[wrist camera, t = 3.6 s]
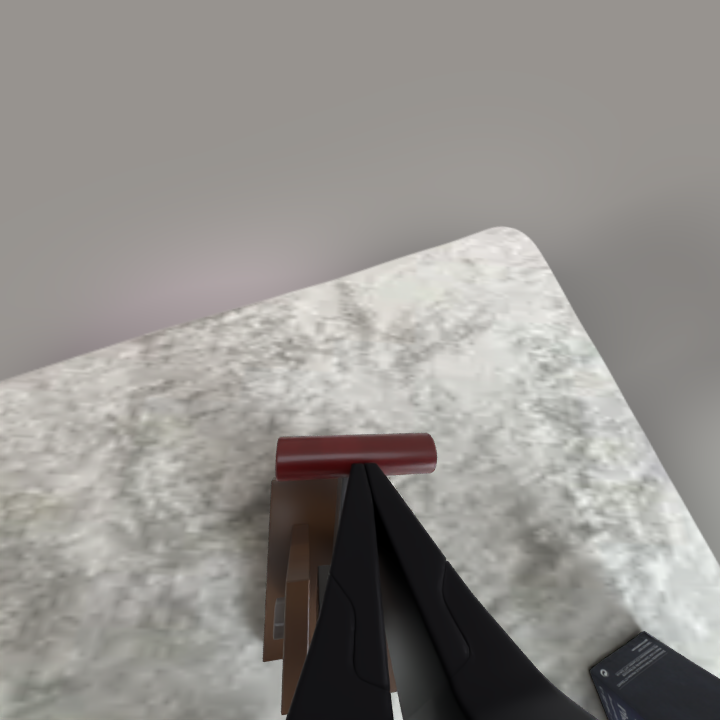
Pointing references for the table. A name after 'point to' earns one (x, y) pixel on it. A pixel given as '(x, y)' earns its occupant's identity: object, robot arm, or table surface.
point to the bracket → (297, 573)
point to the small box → (655, 684)
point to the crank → (336, 458)
